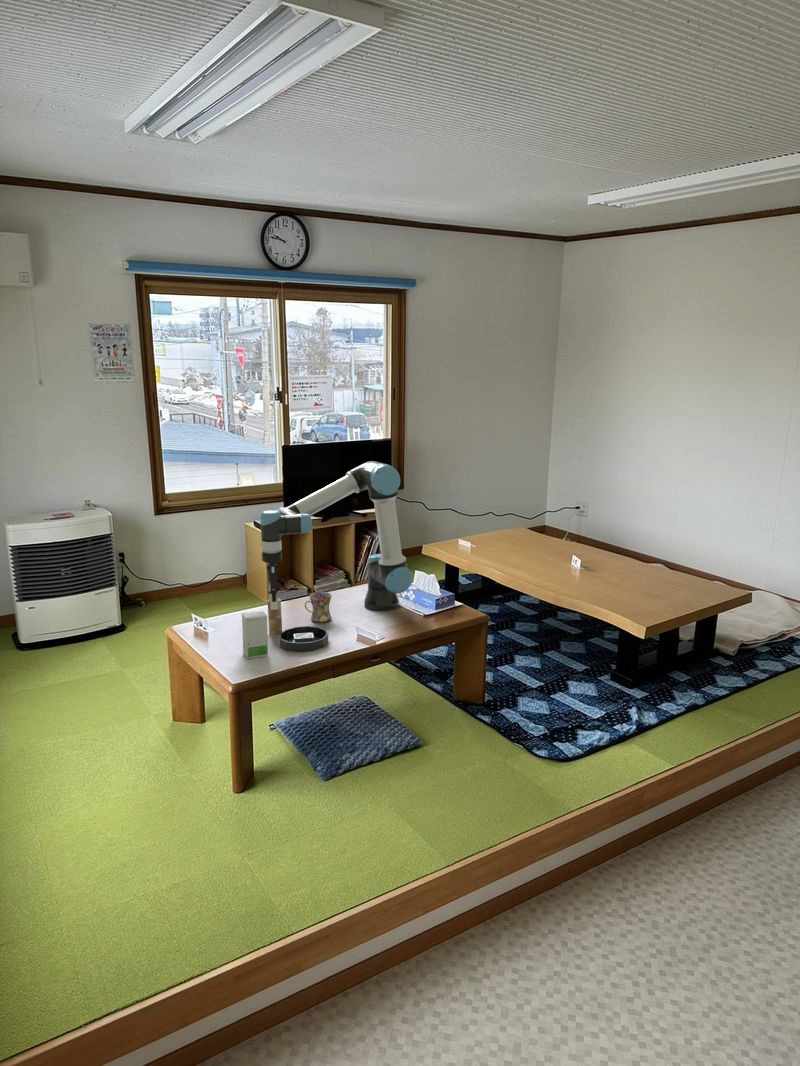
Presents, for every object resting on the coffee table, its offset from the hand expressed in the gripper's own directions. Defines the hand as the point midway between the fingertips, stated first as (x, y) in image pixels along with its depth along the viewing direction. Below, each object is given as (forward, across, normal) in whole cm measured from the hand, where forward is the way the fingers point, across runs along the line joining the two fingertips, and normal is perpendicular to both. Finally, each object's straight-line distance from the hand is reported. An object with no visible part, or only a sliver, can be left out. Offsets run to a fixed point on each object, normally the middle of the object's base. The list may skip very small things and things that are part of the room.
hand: (273, 603), depth 292 cm
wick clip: (+12, +12, +10) cm, 20 cm away
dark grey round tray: (+12, +12, +10) cm, 20 cm away
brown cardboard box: (+12, 0, 0) cm, 12 cm away
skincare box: (+13, +20, -8) cm, 25 cm away
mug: (+12, -12, +18) cm, 25 cm away
